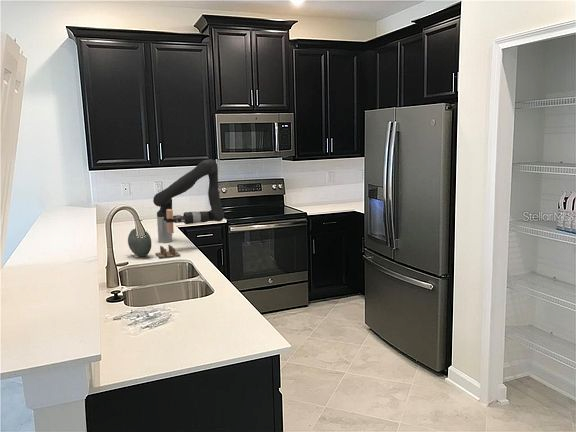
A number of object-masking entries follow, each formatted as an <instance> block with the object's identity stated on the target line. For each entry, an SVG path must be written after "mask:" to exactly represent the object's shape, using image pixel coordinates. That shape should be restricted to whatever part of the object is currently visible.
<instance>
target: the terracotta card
mask: <svg viewBox="0 0 576 432" xmlns="http://www.w3.org/2000/svg"><path fill="white" fill-rule="evenodd" d="M173 212H174V210H173V209H172V210H171V209H166V215H167V219H173V216H174V213H173ZM174 231H175V229H174V223H173V222H169V223H167V232H168V233H169V234H170V233H172V234H174Z"/></svg>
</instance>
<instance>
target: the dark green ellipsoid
mask: <svg viewBox="0 0 576 432" xmlns="http://www.w3.org/2000/svg"><path fill="white" fill-rule="evenodd" d="M139 220H140V221H141V222H142V221H143V219H139ZM145 231H146V230H145ZM127 244H128V247H129V249H130V250H131V252H132V253H133V254H134V255H135V256H137V257H140V258H141V257H142V258H143V257H146V256H148V255H149V254H150V252H151V250H152V238H151V236H150V234H149V232H148V231H146V236H145V237H143V238H137V236H136V228H133V229H131V230H130V232H129V234H128V236H127Z"/></svg>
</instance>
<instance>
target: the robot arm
mask: <svg viewBox="0 0 576 432" xmlns="http://www.w3.org/2000/svg"><path fill="white" fill-rule="evenodd" d="M218 169H219V167H218V163H217V161H216V160H215V159H211V158H210V159H209V158H208V159H204V160H202V161H200V162H199V163H198V164H197V165H196V166H195V167H193V169H191V170H189V171H188V172H187V173H185V174H184V175H181V177H179V178H178V179H177V180H175V181H174V182H173V183H172V184H171V183H170V185H169V186H168V187H167V188H164V189H163V190H161V191H159V192H158V193H156V194H155V195H154V196H153V200H152V202H153V204H154V205H155V206H156V207H159V210H158V211H157V212H156V221H157V222H156V225H157V241H158V243H162V244H163V243H165V244H166V243H170V242H173V233H170V234H169V233H168V232H167V223H169V222H173V224H174V223H175V224H178V223H179V224H180V223H182V224H183V223H184V225H194V224H195V225H196V224H202V223H208V222H218V223H219V222H222V221H223V220H224V218H225V213H224V208H223V206H222V204H221V196H220V191H219V189H220V188H219V176H218V175H219V173H218V172H219V170H218ZM206 176H208V183H209V184H208V190H207V193H208V194H207V196H208V203H209V206H210V207H211V210H207V211H206V210H205V211H204V210H202V211H186V212H184V213H183V215H181V214H177V215H176V214H175V215H173V219H167V215H166V209H171V210H173V198H175V197H177V196H179V195H182V194H184V193H186V192H187V191H188V190H190V189H191V188H193V187H194V186H195V184H196V183H197V182H198V181H199V180H200V179H202V178H203V177H206Z"/></svg>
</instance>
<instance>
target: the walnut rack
mask: <svg viewBox="0 0 576 432" xmlns="http://www.w3.org/2000/svg"><path fill="white" fill-rule="evenodd" d="M154 253H155V256H156V257H158V259H161V260H162V259H169V258H170V259H171V258H178V257H181V254H180V253H179V252H178V251H176V248H175V247H174V246H172V245H171V244H168V251H167V248H165V247H164V246H163V245H160V246H159V252H154Z"/></svg>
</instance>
